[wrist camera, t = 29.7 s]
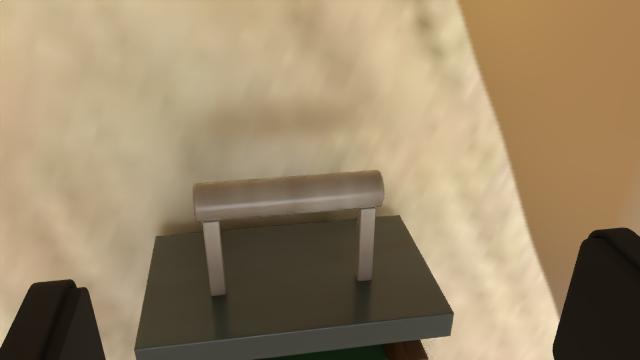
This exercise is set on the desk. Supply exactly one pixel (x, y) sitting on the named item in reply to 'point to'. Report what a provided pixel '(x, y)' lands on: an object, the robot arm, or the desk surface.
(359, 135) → the desk surface
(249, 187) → the drawer
